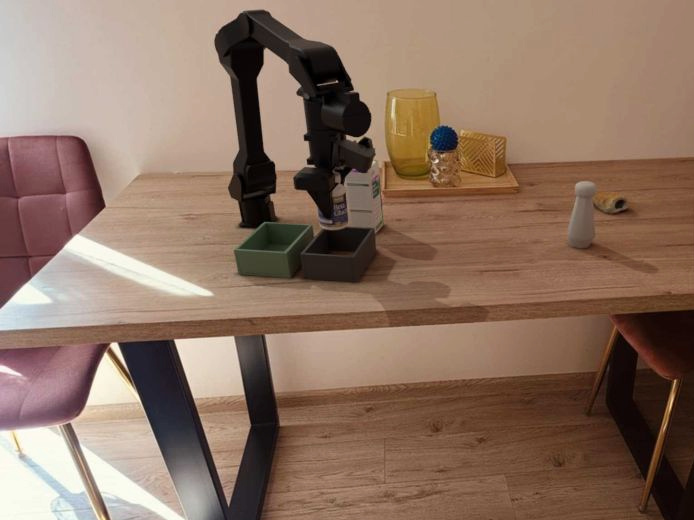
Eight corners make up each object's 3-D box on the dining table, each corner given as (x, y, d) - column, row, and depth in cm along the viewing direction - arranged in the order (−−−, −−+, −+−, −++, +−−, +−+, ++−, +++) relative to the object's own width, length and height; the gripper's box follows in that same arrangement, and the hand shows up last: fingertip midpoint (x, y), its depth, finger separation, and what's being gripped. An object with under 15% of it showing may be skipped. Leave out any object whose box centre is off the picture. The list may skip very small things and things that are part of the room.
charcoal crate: (303, 278, 119) (300, 254, 116) (327, 248, 131) (325, 225, 128) (356, 282, 118) (354, 257, 115) (376, 251, 130) (374, 227, 127)
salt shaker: (596, 241, 134) (603, 180, 127) (591, 251, 130) (599, 189, 123) (568, 237, 136) (574, 177, 129) (563, 247, 131) (569, 185, 124)
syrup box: (376, 234, 137) (370, 167, 129) (349, 232, 138) (343, 165, 130) (384, 224, 142) (379, 159, 134) (358, 222, 143) (352, 157, 135)
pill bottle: (339, 232, 117) (333, 180, 112) (314, 228, 119) (307, 176, 114) (354, 222, 121) (349, 171, 116) (330, 218, 123) (324, 168, 118)
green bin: (238, 274, 121) (233, 249, 118) (268, 244, 132) (264, 221, 130) (290, 277, 119) (286, 253, 117) (315, 247, 131) (312, 224, 129)
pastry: (584, 202, 154) (585, 187, 152) (606, 198, 157) (608, 183, 155) (609, 215, 147) (611, 199, 145) (631, 210, 150) (634, 194, 148)
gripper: (353, 142, 102) (361, 234, 110) (382, 115, 117) (387, 198, 126) (286, 139, 103) (299, 230, 111) (323, 113, 119) (332, 195, 127)
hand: (332, 212), depth 119 cm, fingers closed on pill bottle, 5 cm apart
